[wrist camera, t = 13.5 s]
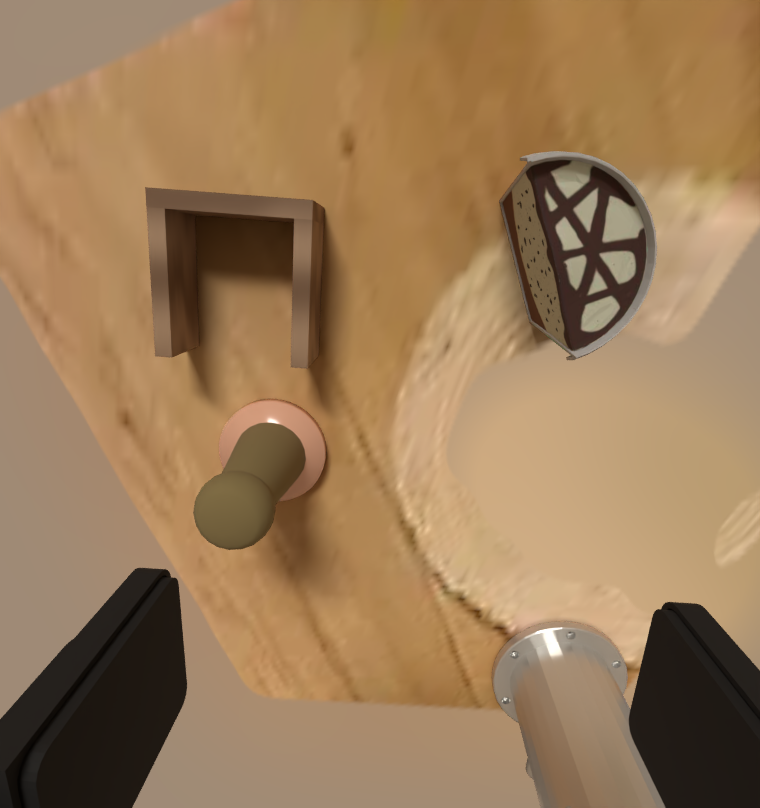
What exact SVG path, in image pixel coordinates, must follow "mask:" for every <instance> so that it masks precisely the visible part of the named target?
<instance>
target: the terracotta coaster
mask: <svg viewBox="0 0 760 808" xmlns="http://www.w3.org/2000/svg"><path fill="white" fill-rule="evenodd" d="M267 422H272V423H276V424H280V425H283V426H285V427H287V428H288V429H290V430H292V431H293V432H294V433H295V434H296V435H297V437H298V438H299V439H300V440H301V442H302V445H303V447H304V449H305V456H306V461H305V466H304V470H303V471H302V473H301V474H300V476H299V478H298V479H297V480H296V481H295V482H294V483H293V485H292V486H291V487H290V488H289V489H288V491H287V492H286V493H285V494H284V495H283V496H282V498H281V499H280V500H279V501H286V500H290V499H293V498H296V497H298V496H300V495H302V494H304V493H305V492H307V491H308V490H309V489H310V488H311V487H312V486H313V485H314V484H315V483H316V482H317V480H318V478H319V477H320V475H321V472H322V470H323V467H324V464H325V460H326V442H325V438H324V435H323V433H322V430H321V428H320V427H319V425H318V423H317V422H316V421H315V420H314V418H313V417H312V416H311V415H310V414H309V413H308V412H306V411H305V410H304V409H302V408H301V407H299V406H297V405H295V404H293V403H290V402H287V401H284V400H278V399H263V400H258V401H254V402H252V403H249V404H247V405H246V406H244V407H242V408H241V409H240V410H238V411H237V412H236V413H235V414H234V415H233V416H232V417H231V418H230V419H229V420H228V422H227V423H226V425H225V426H224V428H223V430H222V433H221V436H220V441H219V455H220V460H221V463H222V466H223V468H225V466H226V464H227V462H228V459H229V457H230V455H231V453H232V451H233V449H234V447H235V445H236V443H237V441H238V439H239V438H240V436H241V434H242V433H243V432H244V431H245V430H247V429H248V428H249V427H251V426H253V425H256V424H258V423H267Z"/></svg>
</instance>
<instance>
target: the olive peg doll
mask: <svg viewBox="0 0 760 808" xmlns="http://www.w3.org/2000/svg"><path fill="white" fill-rule="evenodd" d="M305 461H306V456H305V449H304V447H303V445H302V442H301V440H300V439H299V438H298V437H297V435H296V434H295V433H294V432H293V431H292V430H290V429H288V428H287V427H285V426H283V425H280V424H276V423H272V422H267V423H258V424H256V425H253V426H251V427H249V428H248V429H247V430H245V431H244V432H243V433H242V434H241V436H240V438H239V439H238V441H237V443H236V445H235V447H234V449H233V451H232V453H231V455H230V457H229V459H228V462H227V464H226V466H225V468H224V470H223V472H222V474H219V475H217V476H215V477H213V478H212V479H211V480H210V481H208V482H207V483H206V484H205V485H204V486H203V487H202V488H201V490H200V492H199V494H198V495H197V497H196V500H195V505H194V512H193V513H194V518H195V523H196V526H197V528H198V529H199V531H200V533H201V535H202V536H203V537H204V538H205V539H206V540H207V541H209V542H210V543H212V544H214V545H215V546H217V547H220V548H224V549H228V550H232V549H244V548H246V547H249V546H252V545H254V544H255V543H257V542H258V541H259V540H260V539H262V538H263V537H264V536H265V535H266V533H267V532H268V530H269V529H270V527H271V525H272V523H273V520H274V515H275V505H276V504H277V502H278V501H279V500H280V499H281V498H282V496H283V495H284V494H285V493H286V492H287V491H288V489H289V488H290V487H291V486H292V485H293V483H294V482H295V481H296V480H297V479H298V478H299V476H300V474H301V473H302V471H303V470H304V466H305Z"/></svg>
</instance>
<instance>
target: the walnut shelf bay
mask: <svg viewBox="0 0 760 808" xmlns="http://www.w3.org/2000/svg"><path fill="white" fill-rule="evenodd" d="M145 189H146V206H147V223H148V240H149V257H150V274H151V291H152V308H153V325H154V342H155V356H159V357H174V356H177V355H179V354H181V353H184V352H186V351H188V350H191V349H193V348H195V347H198V346H199V319H198V288H197V256H196V225H195V215H199V216H212V217H225V218H238V219H251V220H264V221H277V222H290V223H294V244H293V289H292V334H291V367H294V368H306V369H308V367H309V366H310V365H311V364H312V363H313V362H314V360H315V359H316V358H317V357H318V356H319V334H320V309H321V283H322V257H323V231H324V207H322V206H321V205H319V204H318V203H316V202H315V201H313V200H304V199H291V198H278V197H265V196H251V195H238V194H225V193H212V192H199V191H185V190H172V189H159V188H146V187H145Z"/></svg>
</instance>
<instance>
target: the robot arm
mask: <svg viewBox="0 0 760 808" xmlns="http://www.w3.org/2000/svg"><path fill="white" fill-rule="evenodd" d="M627 678H628V677H627V668H626V665H625V662H624V659H623V657H622V655H621V653H620V652H619V650H618V648H617V647H616V645H615V644H614V643H613V642H612V641H611V639H610V638H608V637H607V636H606V635H605V634H603V633H602V632H600V631H598V630H597V629H595V628H593V627H591V626H587V625H584V624H581V623H576V622H568V621H556V622H548V623H543V624H539V625H536V626H533V627H530V628H528V629H526V630H524V631H522V632H520V633H518V634H517V635H515V636H514V637H513V638H512V639H510V640H509V641H508V642H507V643H506V644H505V645H504V647H503V648H502V649H501V650H500V652H499V654H498V655H497V657H496V659H495V662H494V665H493V669H492V683H493V688H494V693H495V696H496V699H497V701H498V703H499V704H500V706H501V708H502V709H503V710H504V711H505V712H506V713H507V714H508V716H509V717H511V718H512V719H514V720H515V721H516V722H518V723H519V725H520V729H521V733H522V737H523V741H524V744H525V748H526V752H527V756H528V759H527V764H526V771H527V774H528V775H529V776H530V777H531V778H532V779H533V780H534V783H535V787H536V791H537V795H538V799H539V803H540V806H541V808H760V671H759V669H758V668H757V667H756V666H755V665H754V664H753V663H752V661H751V660H750V659H749V658H748V657H747V656H746V655H745V653H744V652H743V651H742V650H741V649H740V648H739V647H738V645H736V643H735V642H734V641H733V640H732V639H731V638H730V636H729V635H728V634H727V633H726V632H725V631H724V630H723V628H722V627H721V626H720V625H719V624H718V623H717V622H716V620H715V619H714V618H713V617H712V616H711V615H710V614H709V612H708V611H707V610H706V609H705V608H704V607H703V606H701V605H699V604H691V603H676V602H675V603H674V602H667V603H665V604H664V605H663V606H662V609H661V610H659V609H658V610H656V611H655V612H654V614H653V617H652V622H651V626H650V630H649V634H648V638H647V643H646V647H645V651H644V655H643V659H642V664H641V668H640V672H639V676H638V680H637V685H636V689H635V693H634V697H633V701H632V706H631V710H630V708H629V706H628V704H627V702H626V700H625V698H624V696H623V694H624V692H625V689H626V685H627ZM186 690H187V679H186V668H185V655H184V644H183V632H182V621H181V608H180V596H179V585H178V580H177V579H176V578H171V576H170V573H169V571H168V570H166V569H149V568H137V569H135V570H134V571H133V572H132V573H131V574H130V575H129V576H128V578H127V579H126V580H125V581H124V582H123V583H122V585H121V586H120V587H119V588H118V589H117V590H116V591H115V593H114V594H113V595H112V596H111V597H110V598H109V599H108V600H107V602H106V603H105V604H104V605H103V606H102V607H101V609H100V610H99V611H98V612H97V613H96V614H95V615H94V617H93V618H92V619H91V620H90V621H89V622H88V623H87V625H86V626H85V627H84V628H83V629H82V630H81V631H80V633H79V634H78V635H77V636H76V637H75V638H74V639H73V640H71V641H70V642H69V643H68V644H67V645H66V646H65V647H64V648H63V649H62V650H61V651H60V652H59V653H58V655H57V656H56V657H55V658H54V659H53V660H52V661H51V663H50V664H49V665H48V666H47V667H46V668H45V670H43V672H42V673H41V674H40V675H39V676H38V677H37V678H36V680H35V681H34V682H33V683H32V684H31V685H30V687H29V688H28V689H27V690H26V691H25V692H24V693H23V694H22V695H21V697H20V698H19V699H18V700H17V701H16V702H15V703H14V705H13V706H12V707H11V708H10V709H9V710H8V711H7V712H6V714H5V715H4V716H3V717H2V718H1V719H0V808H132V807H133V805H134V803H135V801H136V799H137V797H138V794H139V792H140V791H141V789H142V787H143V785H144V783H145V781H146V778H147V776H148V774H149V772H150V770H151V768H152V766H153V764H154V762H155V760H156V758H157V756H158V754H159V752H160V750H161V748H162V746H163V744H164V742H165V740H166V738H167V736H168V734H169V732H170V730H171V728H172V726H173V724H174V722H175V720H176V718H177V716H178V714H179V712H180V710H181V708H182V705H183V703H184V700H185V696H186Z"/></svg>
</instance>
